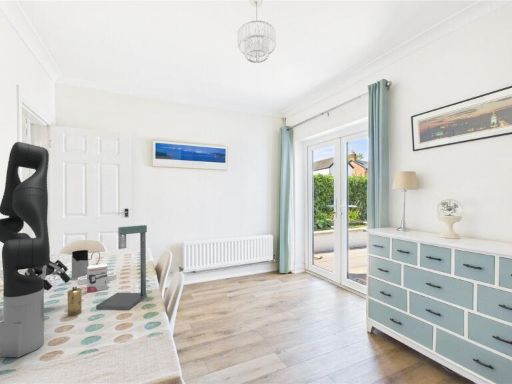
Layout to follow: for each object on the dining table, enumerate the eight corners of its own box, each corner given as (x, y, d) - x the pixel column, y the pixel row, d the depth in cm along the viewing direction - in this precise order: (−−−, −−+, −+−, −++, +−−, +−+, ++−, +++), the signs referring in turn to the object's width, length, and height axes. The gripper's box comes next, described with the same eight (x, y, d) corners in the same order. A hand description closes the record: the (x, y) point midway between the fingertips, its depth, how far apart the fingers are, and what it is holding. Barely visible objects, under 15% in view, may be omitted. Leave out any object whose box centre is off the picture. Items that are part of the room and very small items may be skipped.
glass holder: (69, 277, 147) (69, 251, 147) (98, 272, 156) (98, 247, 156) (71, 281, 140) (71, 253, 140) (101, 275, 149) (101, 249, 150)
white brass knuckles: (117, 274, 152) (115, 282, 139) (80, 279, 145) (75, 288, 131) (117, 269, 152) (115, 276, 139) (80, 273, 145) (75, 281, 131)
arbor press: (131, 310, 104) (130, 229, 104) (96, 309, 105) (95, 229, 105) (149, 295, 119) (149, 225, 119) (118, 295, 120) (118, 225, 120)
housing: (75, 316, 99) (75, 289, 99) (64, 315, 100) (64, 289, 100) (84, 310, 104) (84, 285, 104) (73, 310, 104) (73, 285, 104)
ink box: (87, 293, 123) (87, 268, 123) (87, 290, 127) (87, 266, 127) (107, 289, 128) (107, 265, 128) (107, 286, 132) (106, 263, 132)
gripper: (21, 253, 96) (50, 284, 95) (54, 245, 110) (79, 272, 109) (8, 267, 96) (36, 298, 95) (42, 257, 111) (67, 285, 110)
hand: (59, 284), depth 102 cm, fingers open, 8 cm apart
